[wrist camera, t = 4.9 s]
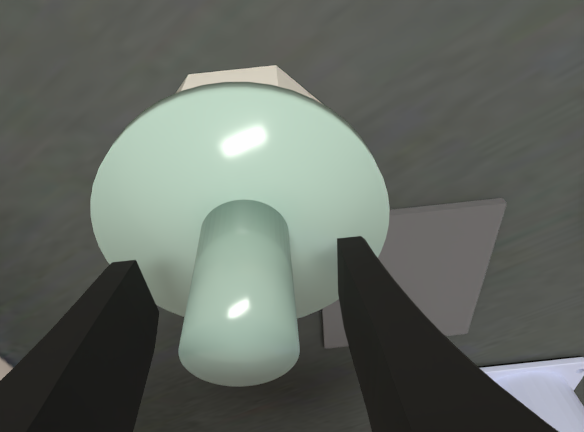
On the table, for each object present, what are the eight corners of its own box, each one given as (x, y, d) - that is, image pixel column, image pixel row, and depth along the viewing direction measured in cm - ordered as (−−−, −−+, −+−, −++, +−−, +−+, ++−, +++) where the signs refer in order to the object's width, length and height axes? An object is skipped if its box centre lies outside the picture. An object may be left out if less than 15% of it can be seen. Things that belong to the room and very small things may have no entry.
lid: (387, 287, 15) (431, 417, 11) (164, 325, 15) (132, 461, 11) (376, 49, 10) (453, 139, 6) (38, 118, 10) (-97, 243, 6)
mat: (464, 327, 23) (467, 333, 22) (323, 342, 23) (324, 348, 22) (502, 198, 17) (507, 203, 17) (316, 217, 17) (317, 223, 17)
